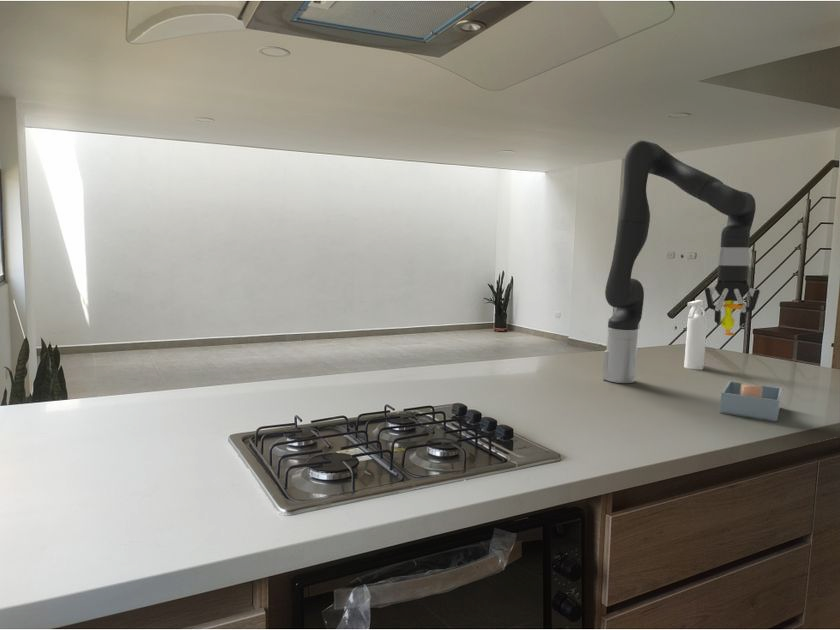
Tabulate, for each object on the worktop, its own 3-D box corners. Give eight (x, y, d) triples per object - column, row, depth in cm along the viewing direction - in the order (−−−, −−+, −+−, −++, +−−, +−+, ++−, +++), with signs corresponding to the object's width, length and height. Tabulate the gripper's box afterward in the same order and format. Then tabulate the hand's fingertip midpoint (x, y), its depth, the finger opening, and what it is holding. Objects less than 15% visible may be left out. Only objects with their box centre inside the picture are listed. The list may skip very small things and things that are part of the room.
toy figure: (744, 336, 161) (747, 292, 160) (735, 336, 160) (738, 292, 159) (723, 333, 168) (726, 291, 166) (714, 333, 166) (717, 291, 165)
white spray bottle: (713, 367, 216) (716, 299, 213) (695, 371, 209) (698, 301, 206) (695, 364, 221) (698, 298, 218) (677, 368, 214) (680, 300, 211)
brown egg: (738, 412, 154) (741, 386, 153) (738, 407, 158) (740, 382, 157) (760, 415, 152) (763, 389, 151) (759, 410, 156) (762, 384, 155)
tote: (719, 412, 155) (721, 392, 154) (727, 399, 169) (729, 381, 168) (777, 422, 148) (779, 400, 147) (780, 407, 162) (781, 388, 161)
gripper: (703, 263, 163) (699, 324, 164) (762, 264, 155) (758, 328, 157) (707, 263, 169) (703, 322, 171) (764, 264, 161) (760, 325, 163)
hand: (729, 324), depth 164 cm, fingers closed on toy figure, 5 cm apart
